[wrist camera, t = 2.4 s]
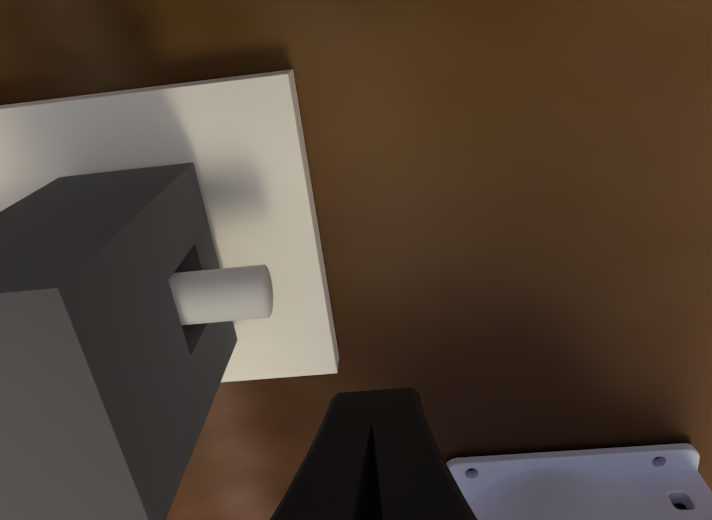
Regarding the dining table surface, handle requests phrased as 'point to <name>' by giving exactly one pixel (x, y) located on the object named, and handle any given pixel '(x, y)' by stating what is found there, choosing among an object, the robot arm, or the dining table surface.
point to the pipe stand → (206, 201)
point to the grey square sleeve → (103, 345)
